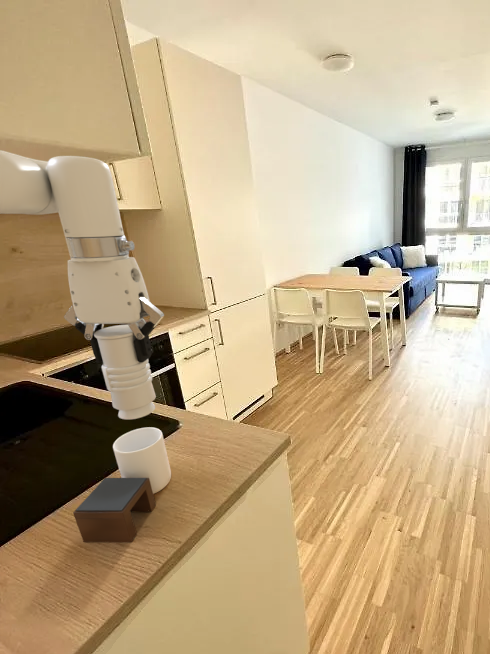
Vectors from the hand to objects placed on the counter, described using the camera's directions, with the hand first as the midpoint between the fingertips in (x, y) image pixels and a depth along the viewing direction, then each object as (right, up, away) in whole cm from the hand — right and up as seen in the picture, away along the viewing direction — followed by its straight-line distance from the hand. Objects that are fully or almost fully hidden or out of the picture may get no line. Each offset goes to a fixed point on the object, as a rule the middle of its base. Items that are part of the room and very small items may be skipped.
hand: (124, 358), depth 60 cm
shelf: (-1, -28, +2) cm, 28 cm away
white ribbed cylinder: (0, -10, +4) cm, 10 cm away
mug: (-2, -25, +12) cm, 28 cm away
